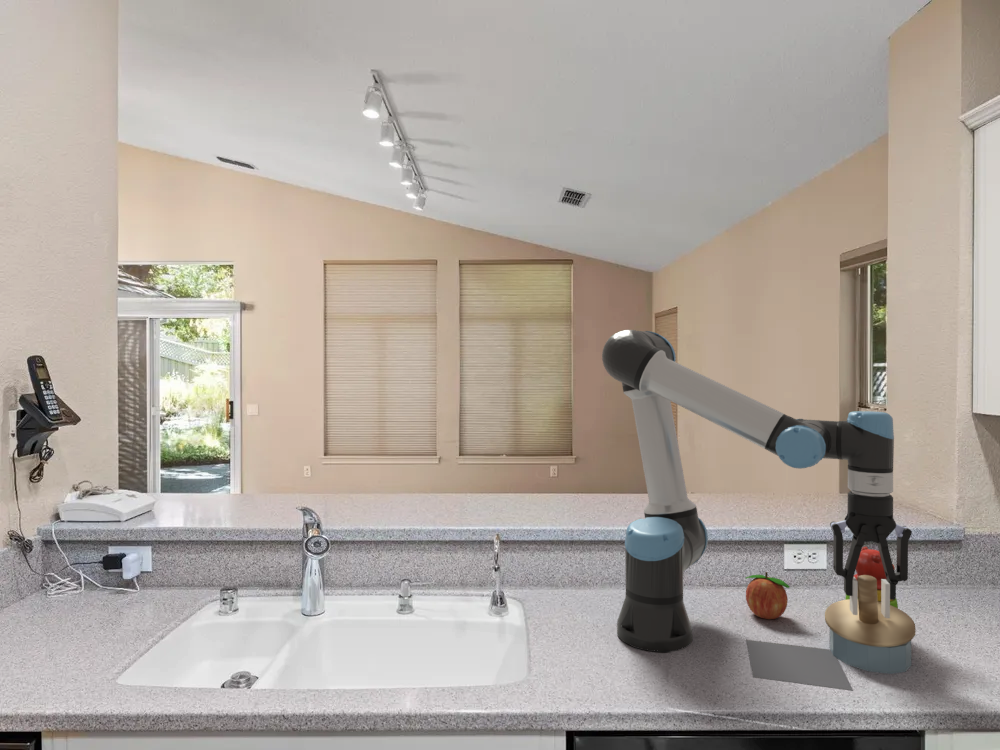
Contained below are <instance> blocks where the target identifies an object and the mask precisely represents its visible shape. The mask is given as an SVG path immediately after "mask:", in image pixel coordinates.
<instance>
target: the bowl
mask: <svg viewBox="0 0 1000 750" xmlns="http://www.w3.org/2000/svg"><path fill="white" fill-rule="evenodd" d="M828 649H830V650H831V652H832V654H833V656H835V657H836V658H837V659H838V661H839V660H840V661H841V662H842V663H845V665H848V666H850V667H854V668H857V669H861V670H863V671H867V672H871V673H881V674H887V675H888V674H889V675H891V674H898V673H906V672H907V671H908V670H909V668H911V666H912V640H910V641H909V642H907V643H905V644H902V645H898V646H892V647H876V646H868V645H863V644H859V643H856V642H853V641H850V640H847V639H845V638H843V637H841V636H839V635H838V634H836V633H835V632H833V631H832V630H831V629H830V628H829V648H828Z"/></svg>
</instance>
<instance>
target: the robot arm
mask: <svg viewBox="0 0 1000 750" xmlns="http://www.w3.org/2000/svg"><path fill="white" fill-rule="evenodd" d="M676 358H677V357H676V351H675V349H674V347H673V345H672V344H671V342H670V341H669V340H668V339H667V338H666V337H664V336H663V335H660V334H659V333H656V332H654V331H651V330H649V331H648V330H645V331H643V330H636V329H624V330H620V331H617V332H616V333H614V334H612V335H611V336H610V337H609V338H608V339H607V340H606V342H605V344H604V346H603V349H602V353H601V359H602V364H603V367H604V369H605V371H606V372H607V373H608V375H609V376H610V377H611V378H613V379H614V380H616V381H617V382H620V383H621V386H622V392H623V394H624V395H625V396H626V397H628V398H630V400H631V404H632V410H633V416H634V422H635V429H636V434H637V439H638V444H639V450H640V451H639V452H640V456H641V461H642V468H643V475H644V480H645V486H646V491H647V497H648V503H647V505H646V507H645V508H644V510H643V514H644V518H639V519H636V520H634V521H631V522H630V524H628V526H627V527H626V532H625V540H624V548H625V553H624V554H625V555H624V556H625V557H624V558H625V565H624V566H625V567H624V568H625V597H624V601H623V604H622V606H621V609H620V613H619V616H618V618H617V621H616V622H617V623H616V634H617V637H618V638H619V639H620V640H621V641H622V642H624V643H625V644H627V645H629V646H632V647H634V648H637V649H640V650H645V651H651V652H661V653H667V652H669V653H670V652H675V651H680V650H683V649H685V648H687V647H689V646H690V645H691V644H692V642H693V628H692V625H691V622H690V618H689V616H688V615H689V614H688V612H687V609H686V608H687V607H686V606H685V601H684V572H685V571H686V570H687V569H689V568H690V567H691V566H692V565H694V564H696V563H697V562H698V561H699V560H700V559H701V558H702V556H703V555H704V553H705V552H706V549H707V546H708V541H709V538H708V537H709V535H708V531H707V530H708V529H707V527H706V525H705V524H704V522H703V521H702V519H701V518H699V515H698V514H699V513H698V508H697V505H696V503H695V502H693V501H692V500H691V499H689V498H688V497H689V496H688V493H687V487H686V481H685V475H684V470H683V464H682V458H681V454H680V448H679V441H678V437H677V430H676V425H675V418H674V413H673V407H672V403H674V404H676V405H678V406H680V407H682V408H684V409H686V410H687V411H689V412H692V413H694V414H696V415H697V416H700V417H701V418H702V419H703V418H704V420H708V421H709V422H711V423H713V424H715V425H717V426H719V427H721V428H723V429H725V430H727V431H729V432H731V433H732V434H735V435H737V436H739V437H740V438H742V439H745V440H747V441H749V442H751V443H752V444H754V445H757V446H758V447H760V448H762V449H765V450H766V451H768V452H770V453H771V454H774V455H776V456H778V458H779V459H780V461H781V462H782V463H783V464H784V465H786V466H788V467H791V468H793V469H807V468H811V467H814V466H815V465H817V464H818V463H819V462H820V461H822V459H827V460H828V459H830V460H843V461H844V460H847V489H848V490H849V492H848V493H847V513H846V516H845V517H844V520H840V521H837V522H836V521H835V520H833V521H831V522H830V523H829V525H830V526H829V527H830V528H831V531H832V533H833V537H832V538H833V543H832V544H833V546H832V547H833V551H832V552H833V553H832V554H833V555H832V556H833V558H832V562H833V563H832V565H833V566H832V567H833V569H832V570H833V571H834V573H835V574H836V575H837V576H839V577H840V576H841V577H843V591H844V593H845V596H846V595H848V596H850V611H851V612H852V614H853V615H858V581H857V580H856V578H855V577H854V575H855V573H856V566H857V563H858V560H859V556H860V553H861V549H862V548H863V547H864V545H865V543H870V542H872V543H876V545H877V549H878V551H879V553H880V557H881V560H882V564H883V568H884V572H885V575H886V578H887V580H886V579H881V613H882V614H883V616H884V617H885V618H890V599H891V600H895V598H896V599H897V585H898V584H899V582H902V581H903V582H907V581H908V578H909V576H908V575H909V541H910V538H911V537H912V535H913V532H912V530H911V529H910V527H908V526H906V525H900V524H897V522H896V521H895V519H894V496H893V495H891V494H892V493H893V492H894V454H895V452H894V448H895V447H894V446H895V445H894V444H895V435H894V434H895V433H894V419H893V416H892V415H891V414H890V413H888V412H883V411H870V410H869V411H868V410H867V411H863V410H858V411H856V410H855V411H850V412H849V413H848V415H847V419H846V420H839V421H837V420H820V419H804V418H794V417H793V416H790V415H787V414H785V413H783V412H781V411H779V410H777V409H775V408H773V407H770V406H768V405H767V404H765V403H762V402H760V401H758V400H756V399H754V398H752V397H751V396H748V395H746V394H743V393H742V392H739V391H737V390H735V389H733V388H731V387H729V386H727V385H725V384H722V383H720V382H718V381H716V380H714V379H711V378H710V377H707V376H705V375H703V374H701V373H699V372H697V371H695V370H693V369H691V368H688V367H687V366H684V365H682V364H681V363H678V362H676ZM846 528H848V529H849V530H850V532H851V533H852V538H851V544H850V547H849V552H848V555H847V558H846V562H845V566H844V537H843V534H845V532H846ZM893 531H894V534H895V536H896V567H895V568H896V571H895V570H894V568H893V565H894V563H893V561H892V557H891V553H890V550H889V543H888V539H887V538H888V537H889V536H890V535H891V533H892V532H893Z"/></svg>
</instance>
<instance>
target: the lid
mask: <svg viewBox="0 0 1000 750" xmlns="http://www.w3.org/2000/svg"><path fill="white" fill-rule="evenodd" d="M857 581H858V615H853V614H852V612H851V611H850V599H847V600H845V599H842V600H839V601H835V602H832V603H831V604H830V605H828V607H827V608H826V609H825V612H824V621H825V623H826V625H827V626H828V628H829V630H830V629H831V630H832V631H833V632H835V633H836V634H838V635H839V636H841V637H843V638H845V639H847V640H850V641H853V642H856V643H859V644H863V645H868V646H876V647H892V646H898V645H902V644H905V643H907V642H909V641H910V640H911V641H912V640H913V639H914V638H915V636H916V632H917V629H916V623H915V621H914V619H913V618H912V617H911V616H910V615H908V613H906V612H904V610H901V609H899V607H898V608H896V607H894V606H891V605H890V618H885V617H884V616H883V614H882V613H881V602H878V598H877V579H876V578H875V577H873V576H869V575H860V576H858V577H857Z"/></svg>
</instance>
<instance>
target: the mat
mask: <svg viewBox="0 0 1000 750" xmlns="http://www.w3.org/2000/svg"><path fill="white" fill-rule="evenodd" d="M745 643H746V649H747V652H748V653H747V654H748V658H749V664H750V668H751V674H752V678H756V679H764V680H771V681H780V682H785V683H792V684H793V683H795V684H801V685H808V686H815V687H822V688H830V689H831V688H832V689H839V690H844V691H845V690H846V691H854V688H853V687H852V686H851V683H850V681H849V679H848V677H847V675H846V673H845V671H844V669H843V667H842V664H841V663H840V661H839V659H837V658H836V657H835V656H833V654H832V652H831V650H830V648H821V647H820V648H819V647H813V646H806V645H805V646H803V645H796V644H785V643H780V642H779V643H778V642H770V641H761V640H754V639H753V640H752V639H745Z"/></svg>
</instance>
